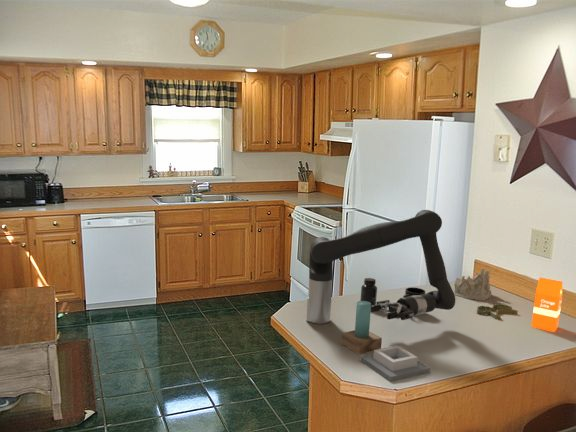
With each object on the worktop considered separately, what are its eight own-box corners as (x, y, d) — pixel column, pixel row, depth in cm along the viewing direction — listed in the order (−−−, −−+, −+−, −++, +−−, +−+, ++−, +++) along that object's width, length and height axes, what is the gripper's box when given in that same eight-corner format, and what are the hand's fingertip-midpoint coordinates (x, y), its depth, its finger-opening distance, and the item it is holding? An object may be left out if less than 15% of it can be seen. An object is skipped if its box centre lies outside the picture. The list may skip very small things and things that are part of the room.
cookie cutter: (494, 321, 229) (494, 316, 229) (470, 312, 239) (471, 308, 238) (521, 314, 239) (521, 310, 238) (497, 306, 248) (497, 302, 248)
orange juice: (535, 321, 230) (541, 275, 226) (558, 326, 225) (564, 279, 221) (531, 326, 223) (537, 279, 220) (554, 332, 218) (561, 283, 215)
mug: (394, 312, 233) (396, 291, 232) (411, 307, 241) (413, 286, 239) (410, 318, 227) (412, 296, 226) (427, 312, 235) (429, 291, 233)
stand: (359, 354, 190) (360, 343, 190) (341, 343, 199) (341, 333, 198) (381, 348, 196) (381, 337, 195) (362, 338, 204) (363, 328, 203)
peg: (354, 337, 194) (356, 304, 192) (354, 332, 199) (356, 300, 197) (368, 338, 194) (371, 306, 192) (368, 333, 199) (370, 301, 196)
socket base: (390, 381, 171) (391, 367, 170) (360, 360, 185) (361, 348, 184) (429, 372, 179) (431, 359, 178) (398, 353, 193) (399, 340, 192)
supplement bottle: (375, 309, 236) (377, 282, 234) (359, 307, 237) (361, 280, 235) (376, 304, 243) (378, 278, 241) (360, 302, 244) (362, 276, 242)
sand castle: (496, 294, 263) (497, 264, 261) (481, 303, 252) (482, 271, 249) (465, 289, 274) (465, 259, 272) (449, 297, 262) (449, 266, 260)
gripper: (399, 291, 213) (367, 297, 205) (426, 302, 202) (394, 308, 193) (397, 309, 215) (365, 316, 206) (425, 321, 203) (392, 329, 194)
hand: (379, 312), depth 199 cm, fingers open, 8 cm apart
